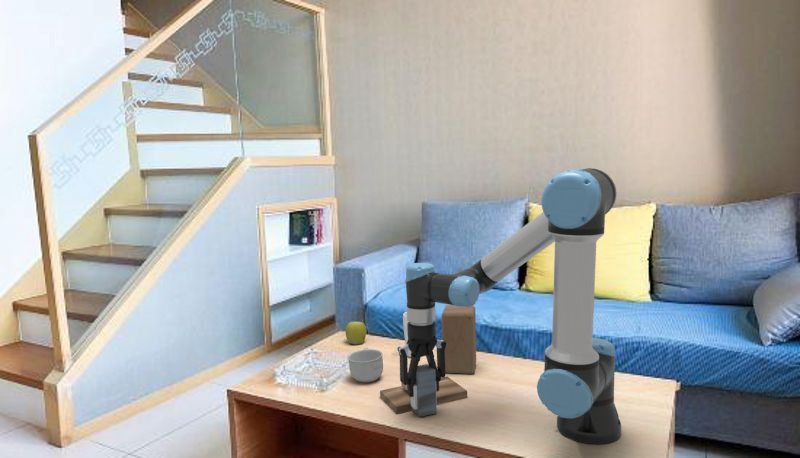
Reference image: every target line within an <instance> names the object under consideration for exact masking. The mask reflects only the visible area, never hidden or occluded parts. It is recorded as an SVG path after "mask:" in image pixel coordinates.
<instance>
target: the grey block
mask: <svg viewBox="0 0 800 458" xmlns="http://www.w3.org/2000/svg"><path fill="white" fill-rule="evenodd" d="M400 382H401V381H400ZM414 384H415V385H417V407H418V409H416V410H415V409H414V408H413V407H412V411H413V413H415V414H416V415H417V416H418V417H419V418H422V417H425V416H430V415H434V414H437V405H436V376H435V370H434V369H433V368H431V367H430V366H429V365H428V363H426V364H420V365H419V364H418V368H417V372H416V377H415V382H414ZM400 386H403V387H404V388H405V389H406V390H407V385H404V384H403V383H402V382H401V383H400Z"/></svg>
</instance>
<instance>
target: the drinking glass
mask: <svg viewBox="0 0 800 458" xmlns="http://www.w3.org/2000/svg"><path fill="white" fill-rule="evenodd" d="M408 322H409V321H408V320H407V311H405V312H404V313H403V314H402V326H403V327H402V328H403V334H404V335H403V336H404V341H405V342H404V343H405V344H404V345H407V341H408V330H407V323H408ZM407 358H411V351H410V350H409V349H408V354H407Z"/></svg>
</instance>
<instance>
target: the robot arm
mask: <svg viewBox="0 0 800 458" xmlns="http://www.w3.org/2000/svg"><path fill="white" fill-rule="evenodd" d="M617 193H618V192H617V187H616V184H615V182H614V180H613V179H612V178H611V177H610V175H609V174H607V173H606V172H604V171H602V170H601V169H597V168H591V167H590V168H588V167H587V168H582V169H570V170H566V171H563V172H561V173H559V174H557V175H555V176H554V177H553V178H552V179H550V180H549V181H548V182H547V184H546V186H545V187H544V189H543V191H542V194H541V208H542V212H541V213H539V214H538V215H537V216H536V217H534V218H533V219H532V220H531V221H528V223H526V224H525V225H524V226H523V227H521V228H520V229H519V230H517V231H516V232H515V233H513V234H512V235H511V236H509V237H508V238H507V239H505V240H504V241H503V242H502V243H500V244H499V245H498V246H496V247H495V248H494V249H492V251H490V252H489V253H487V254H486V255H485V256H483V257H482V258H481V259H480V260H478V261H476V263H474V264H473V265H471V266H470V267H468V268H466V269H463V270H460V271H458V272H455V273H452V274H449V273H438V272H436V271H435V266H434V264H432V263H429V262H414V263H411V264H410V263H409V265H407V267H406V270H405V273H406V274H405V280H404V281H405V292H406V312H407V320H408V321H409V322H408V323H407V330H408V341H407V345H406V344H404V345H403V346H402V347H401V346H397V350H396V351H397V353H398V355H399V381H400V382H402V383H403V384H404V385H407V394H408V396H409V397H411V406H412V407H413V408H414V409H415V410H416V409H418V407H417V385H415V384H414V382H415V377H416V372H417V368H418V366H419V362H420V361H421V358H423V357H425V358H426V360H427V364H428V365H429V366H430V367H431V368H433V369H434V370H435V376H436V392H437V391H439V382H440V381H441V378H442V377H446V374H447V373H445V347H446V342H445V341H443V340H442V338H440V339H438V338H437V337H436V335H437V325H436V317H437V316H436V303H439V304H444V305H455V306H459V307H462V306H465V307H471V306H475V304H476V302H477V301H478V300H479V296H480V295H481V294H483V293H486V292H488V291H490V290H492V288H494V287H495V285H496V284H498V283H499V282H500V281H501V280H502V279H504V278H506V277H507V276H508V275H510V274H511V273H513V272H514V271H516V270H517V269H518V268H519V267H521V266H523V265H524V264H525V263H527V262H528V261H529V260H531V259H533V258H534V257H535V256H536V255H538V254H539V253H541V252H542V251H544V250H545V249H546V248H548V247H549V246H551V245H552V244H554V263H553V265H554V266H553V298H552V300H553V301H552V302H553V303H552V305H553V306H552V331H551V333H552V334H551V335H552V338H551V341H552V342H551V344H550V345H549V346H548V347H546V348H545V350H544V369H543V371H544V372H542V373H541V374H540V376H539V378H538V380H537V384H536V390H537V391H536V392H537V396H538V398H539V400H540V401H541V404H542V405H544V407H546V409H547V410H548V411H549V412H550V413H551V414H553V415H555V416H557V417H556V428H557V430H558V432H559V433H560V434H562V435H563V436H564V437H566V438H568V439H570V440H572V441H575V442H579V443H583V444H589V445H590V444H591V445H606V444H610V443H613V442H616V441H617V440H619V439H620V437H621V435H622V423H621V420H620V418H619V412H618V410H617V407H616V404H615V373H616V372H615V368H616V367H615V366H616V363H615V362H616V361H615V359H616V352H615V346H614V344H613V343H612V342H611V341H608V340H605V339H602V338H597V337H594V336H593V335H594V315H595V314H594V313H595V310H594V308H595V290H596V289H595V288H596V286H595V284H596V283H595V282H596V263H597V262H596V261H597V258H596V256H597V241H598V240H599V239H601V238H602V237H604V235H605V223H606V215H607V214H608V213H609V212H610V211H611V209H613V207H614V205H615V203H616V200H617ZM435 347H436V361H435V354H434V349H435ZM408 349H409V350H410V351H411V357H410V362H409V363H408V356H407V354H408ZM437 405H438V404H437V394H436V406H437Z"/></svg>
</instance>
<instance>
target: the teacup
mask: <svg viewBox="0 0 800 458" xmlns="http://www.w3.org/2000/svg"><path fill="white" fill-rule="evenodd" d="M347 360H348V366H349V372H350V376H351V377H352V378H353V379H354V380H355V381H357V382H359V383H365V384H366V383H367V384H368V383H372V382H374V381H376V380H378V379H379V377H380V376H382V374H383V371H384V361H383V360H384V358H383V352H382V351H381V350H379V349H373V348H372V349H371V348H369V347H364V348H363V349H359V350H356V351H354V352H352V353H350V354H349V355H348V356H347Z"/></svg>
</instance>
